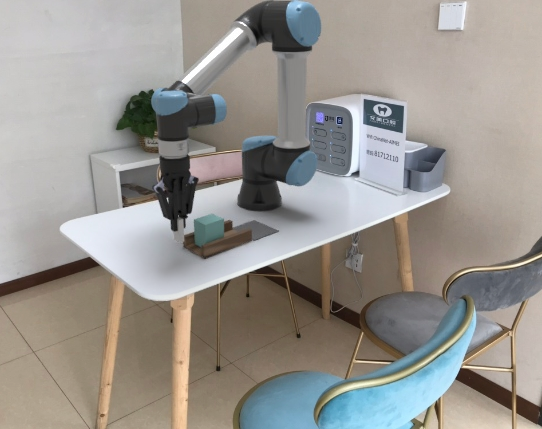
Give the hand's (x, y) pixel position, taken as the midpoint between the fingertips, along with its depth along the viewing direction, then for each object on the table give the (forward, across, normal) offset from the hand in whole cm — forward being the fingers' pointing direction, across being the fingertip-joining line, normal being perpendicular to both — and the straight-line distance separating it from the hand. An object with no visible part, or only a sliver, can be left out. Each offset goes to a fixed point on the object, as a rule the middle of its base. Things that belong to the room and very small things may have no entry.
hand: (179, 240), depth 143 cm
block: (+5, +10, 0) cm, 11 cm away
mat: (+5, +27, 0) cm, 28 cm away
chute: (+5, +13, 0) cm, 14 cm away
